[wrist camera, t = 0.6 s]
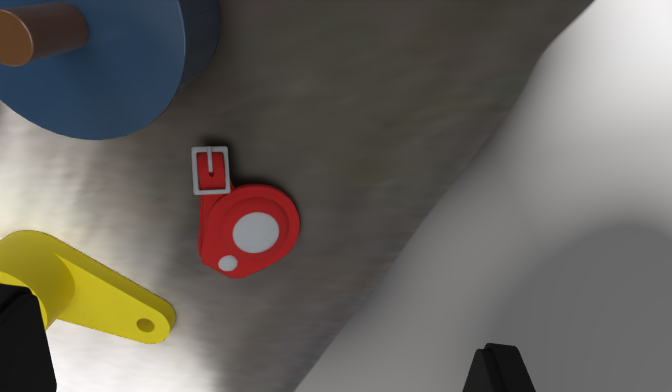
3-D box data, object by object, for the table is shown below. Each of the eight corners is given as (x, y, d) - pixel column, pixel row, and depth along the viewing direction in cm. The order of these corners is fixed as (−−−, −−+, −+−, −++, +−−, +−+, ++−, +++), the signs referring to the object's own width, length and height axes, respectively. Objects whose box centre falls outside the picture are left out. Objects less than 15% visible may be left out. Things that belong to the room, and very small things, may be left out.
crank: (-10, 280, 46) (-58, 321, 41) (5, 216, 43) (-46, 252, 38) (161, 349, 49) (137, 396, 44) (188, 294, 46) (165, 338, 41)
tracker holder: (325, 219, 40) (255, 304, 42) (312, 198, 44) (249, 276, 45) (204, 139, 34) (127, 241, 36) (202, 123, 38) (133, 216, 40)
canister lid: (-83, -106, 25) (-211, -126, 19) (165, -124, 24) (106, -150, 18) (9, 137, 31) (-69, 175, 25) (210, 130, 30) (176, 168, 24)
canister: (23, -82, 32) (-81, -97, 24) (205, -94, 31) (155, -113, 24) (78, 99, 38) (6, 133, 30) (233, 93, 37) (199, 126, 29)
